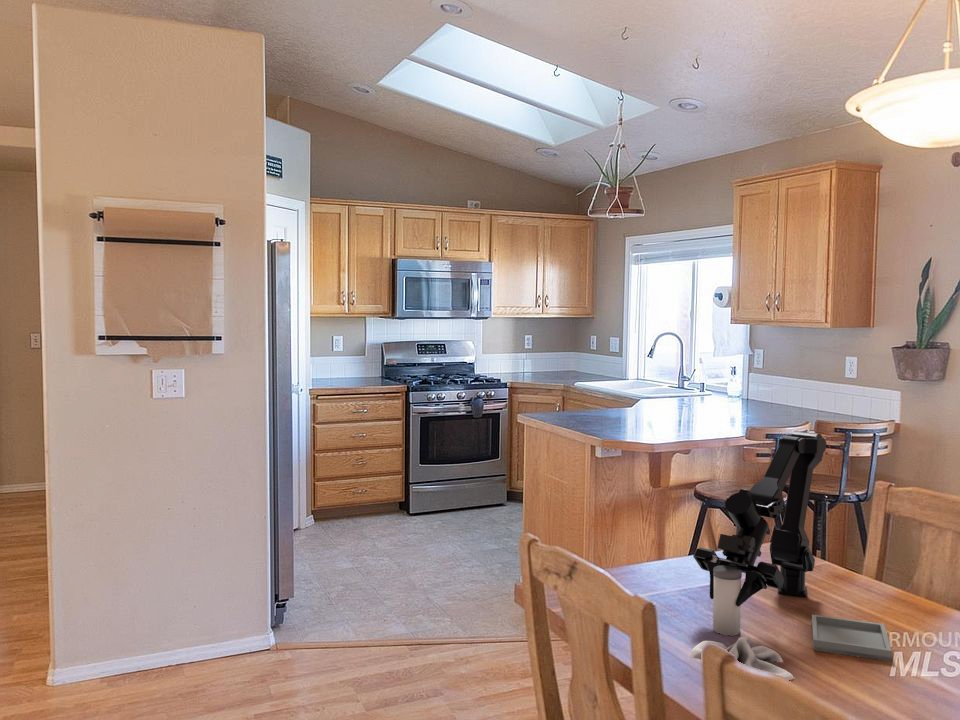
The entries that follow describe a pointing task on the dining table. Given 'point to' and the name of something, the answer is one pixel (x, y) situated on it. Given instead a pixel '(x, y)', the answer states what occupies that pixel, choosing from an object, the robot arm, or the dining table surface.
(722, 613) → the shaker
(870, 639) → the tray
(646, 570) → the dining table surface
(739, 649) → the cloth
